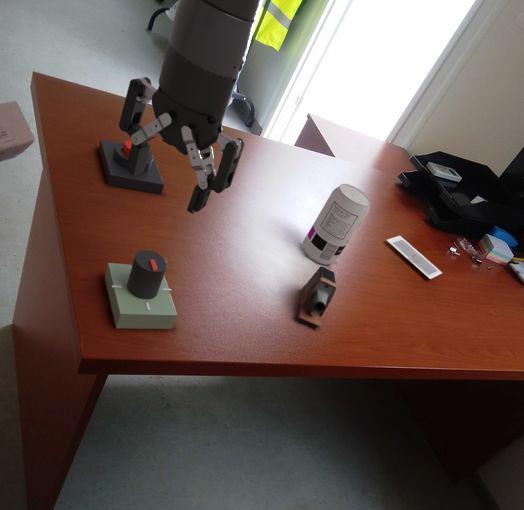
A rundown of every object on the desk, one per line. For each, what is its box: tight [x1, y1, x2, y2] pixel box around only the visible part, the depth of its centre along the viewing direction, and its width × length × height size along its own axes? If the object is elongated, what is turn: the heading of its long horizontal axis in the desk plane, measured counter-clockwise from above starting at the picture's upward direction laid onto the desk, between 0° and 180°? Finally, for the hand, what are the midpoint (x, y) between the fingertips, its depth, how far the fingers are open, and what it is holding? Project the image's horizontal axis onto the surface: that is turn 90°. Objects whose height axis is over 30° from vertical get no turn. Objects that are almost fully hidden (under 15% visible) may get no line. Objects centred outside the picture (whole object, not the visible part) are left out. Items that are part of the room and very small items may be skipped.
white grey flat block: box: [386, 235, 443, 280], centre depth 116 cm, size 8×15×2 cm, turn 46°
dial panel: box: [104, 262, 178, 330], centre depth 66 cm, size 10×9×3 cm
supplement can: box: [302, 183, 372, 266], centre depth 94 cm, size 8×8×15 cm
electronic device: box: [296, 265, 337, 329], centre depth 81 cm, size 4×10×8 cm, turn 174°
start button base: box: [98, 138, 165, 195], centre depth 88 cm, size 12×10×4 cm
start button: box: [123, 139, 132, 157], centre depth 86 cm, size 4×4×2 cm
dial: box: [127, 249, 168, 299], centre depth 63 cm, size 4×4×6 cm
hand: (164, 191), depth 57 cm, fingers open, 8 cm apart
